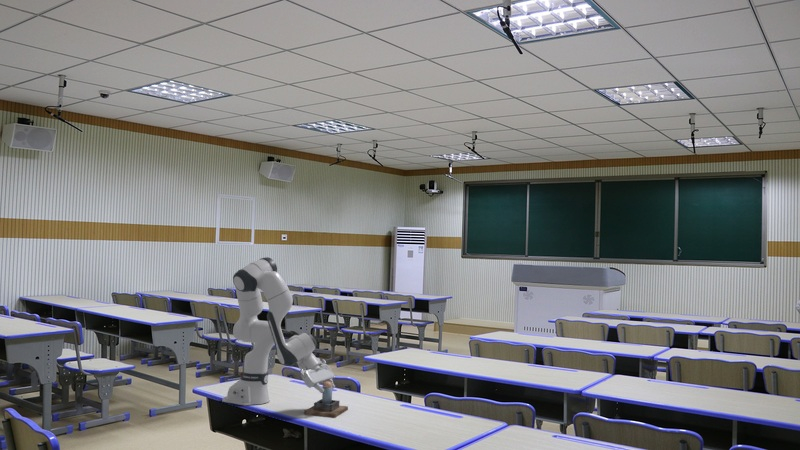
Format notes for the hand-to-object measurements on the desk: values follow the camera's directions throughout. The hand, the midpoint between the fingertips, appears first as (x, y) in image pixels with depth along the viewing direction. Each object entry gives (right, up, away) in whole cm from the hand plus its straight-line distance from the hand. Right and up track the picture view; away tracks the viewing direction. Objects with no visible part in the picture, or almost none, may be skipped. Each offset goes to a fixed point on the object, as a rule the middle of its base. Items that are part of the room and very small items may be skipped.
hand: (328, 390), depth 283 cm
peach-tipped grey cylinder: (-1, -8, 0) cm, 8 cm away
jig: (-1, -10, 0) cm, 10 cm away
